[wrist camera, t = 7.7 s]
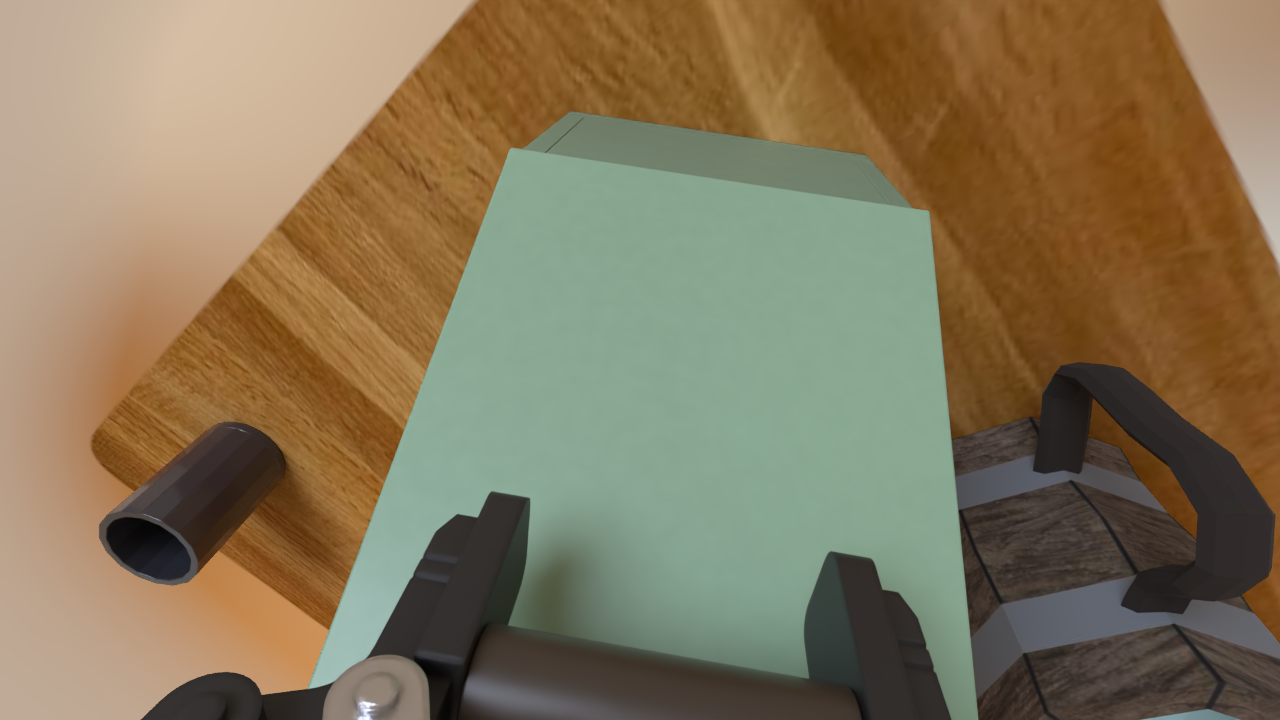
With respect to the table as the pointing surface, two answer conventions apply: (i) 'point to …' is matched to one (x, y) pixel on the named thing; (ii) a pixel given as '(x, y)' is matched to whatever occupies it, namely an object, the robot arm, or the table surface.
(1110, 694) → the mug
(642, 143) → the chest
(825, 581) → the robot arm
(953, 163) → the table surface
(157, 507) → the cup
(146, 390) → the table surface
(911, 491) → the lid
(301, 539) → the table surface
